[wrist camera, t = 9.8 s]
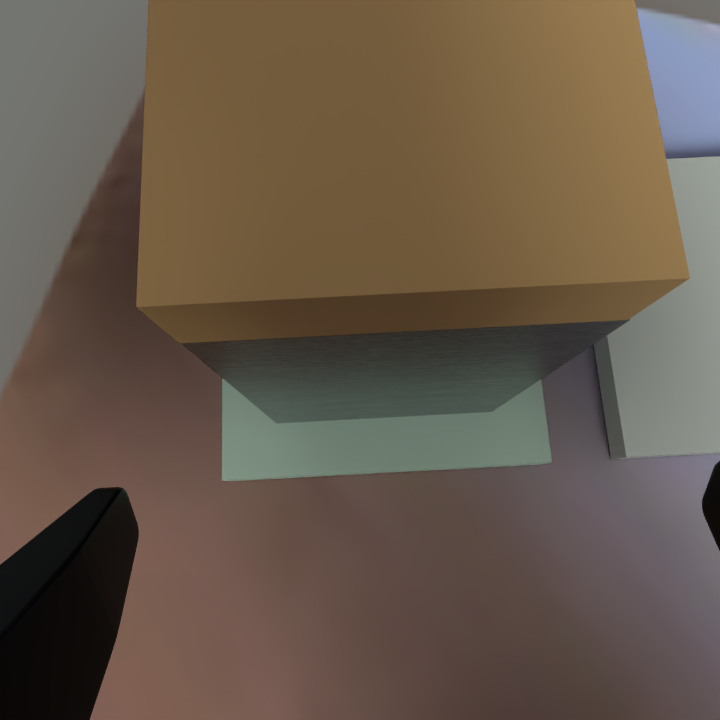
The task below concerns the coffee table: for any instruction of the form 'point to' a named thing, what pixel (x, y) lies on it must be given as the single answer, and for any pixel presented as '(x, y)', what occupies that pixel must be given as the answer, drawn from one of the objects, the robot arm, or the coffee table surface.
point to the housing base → (396, 369)
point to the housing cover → (399, 167)
